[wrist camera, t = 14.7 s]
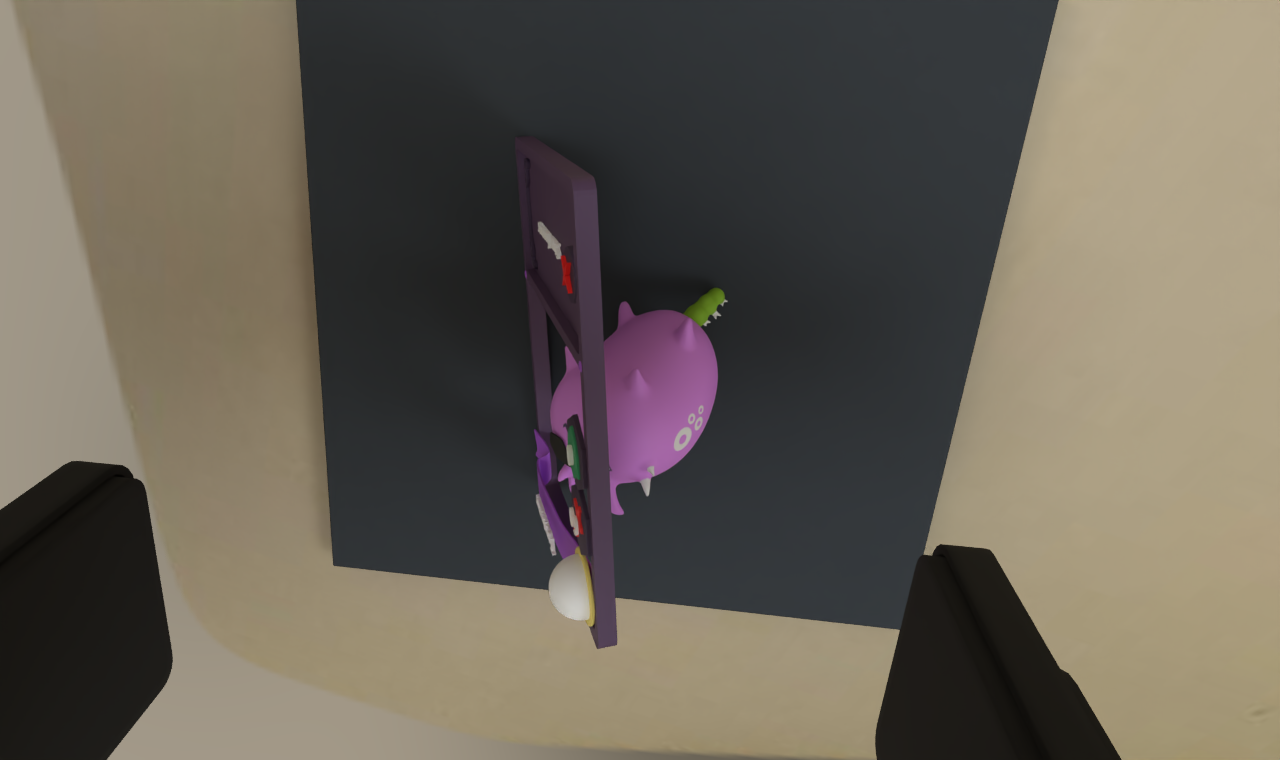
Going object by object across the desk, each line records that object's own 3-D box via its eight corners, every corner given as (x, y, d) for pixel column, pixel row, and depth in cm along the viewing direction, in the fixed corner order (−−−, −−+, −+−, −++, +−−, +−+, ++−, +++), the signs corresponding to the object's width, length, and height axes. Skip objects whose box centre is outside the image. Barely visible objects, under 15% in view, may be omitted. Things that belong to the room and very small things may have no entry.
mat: (339, 556, 25) (332, 566, 24) (300, -70, 18) (290, -73, 18) (901, 619, 24) (905, 631, 24) (1051, -7, 18) (1061, -8, 17)
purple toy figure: (523, 183, 13) (561, 662, 16) (838, 161, 14) (812, 611, 18) (480, 137, 19) (514, 494, 22) (703, 125, 20) (703, 465, 24)
